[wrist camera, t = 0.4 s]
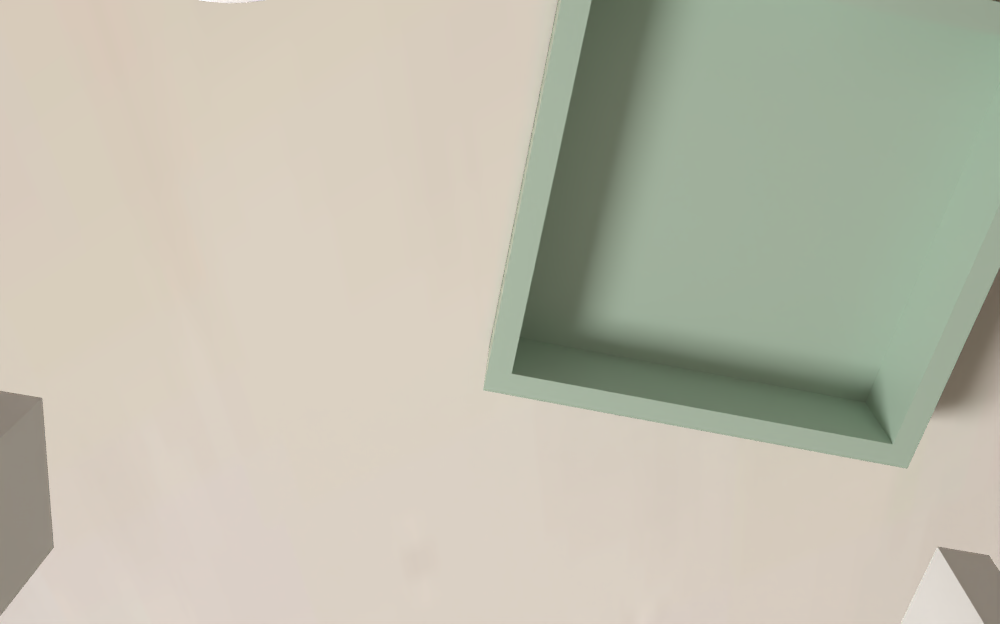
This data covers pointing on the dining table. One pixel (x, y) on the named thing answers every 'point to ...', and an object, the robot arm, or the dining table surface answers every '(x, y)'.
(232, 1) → the cup
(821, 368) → the bin
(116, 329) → the dining table surface
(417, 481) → the dining table surface
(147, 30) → the dining table surface
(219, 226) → the dining table surface
